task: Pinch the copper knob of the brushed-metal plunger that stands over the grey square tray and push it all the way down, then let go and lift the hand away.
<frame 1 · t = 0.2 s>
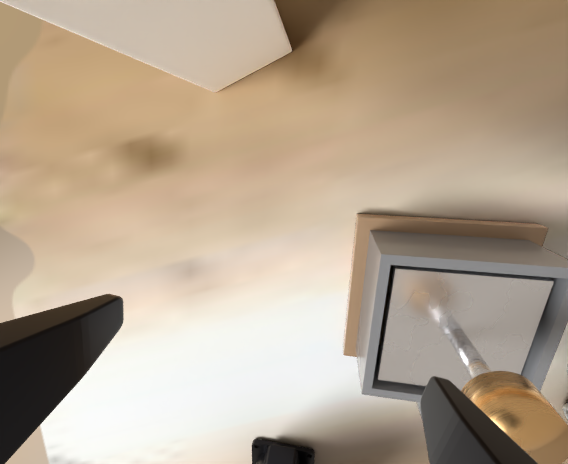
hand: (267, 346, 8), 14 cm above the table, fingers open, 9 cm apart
plunger: (480, 373, 14), point 8 cm above the table, slide at 0.0 cm
grey square tray: (428, 292, 22), on the table
milk: (234, 27, 18), on the table
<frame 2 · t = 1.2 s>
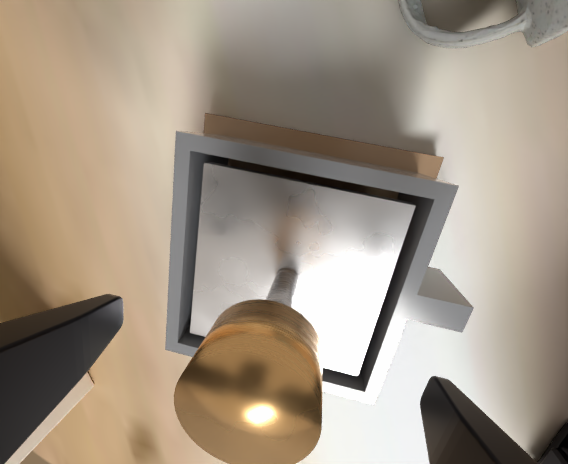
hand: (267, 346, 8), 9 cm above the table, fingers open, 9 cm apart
plunger: (274, 318, 9), point 8 cm above the table, slide at 0.0 cm
grey square tray: (298, 239, 17), on the table
milk: (53, 357, 23), on the table
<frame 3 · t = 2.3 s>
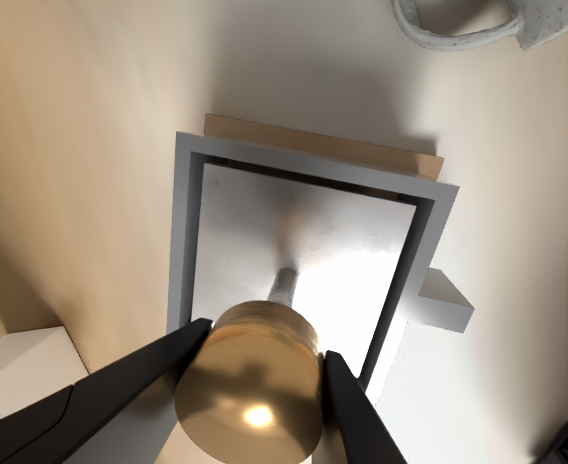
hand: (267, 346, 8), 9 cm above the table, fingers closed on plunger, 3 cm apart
plunger: (275, 319, 9), point 8 cm above the table, slide at 0.0 cm, touching gripper
grey square tray: (299, 239, 17), on the table
milk: (53, 358, 23), on the table
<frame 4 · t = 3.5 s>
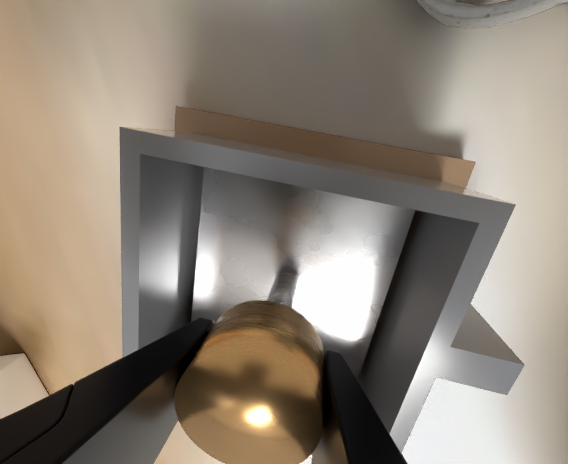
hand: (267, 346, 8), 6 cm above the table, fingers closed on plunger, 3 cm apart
plunger: (275, 319, 9), point 5 cm above the table, slide at 3.0 cm, touching gripper
grey square tray: (293, 259, 14), on the table
milk: (16, 387, 21), on the table
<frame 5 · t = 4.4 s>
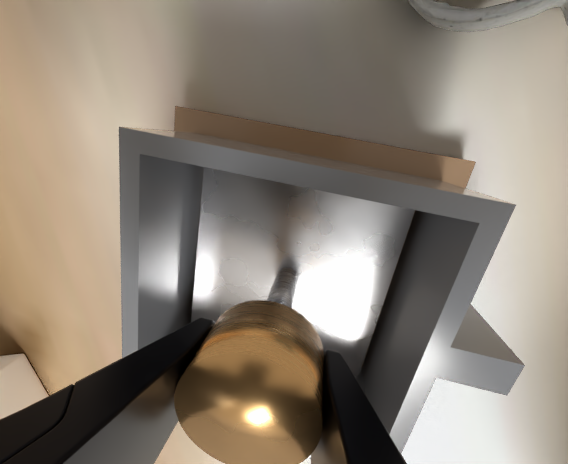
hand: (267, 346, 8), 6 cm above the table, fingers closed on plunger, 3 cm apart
plunger: (275, 319, 9), point 5 cm above the table, slide at 3.0 cm, touching gripper
grey square tray: (293, 259, 14), on the table
milk: (15, 387, 20), on the table
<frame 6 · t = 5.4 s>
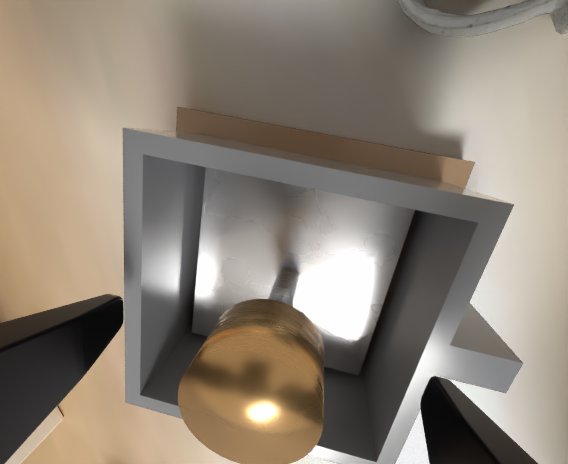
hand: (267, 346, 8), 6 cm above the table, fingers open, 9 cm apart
plunger: (276, 317, 9), point 5 cm above the table, slide at 3.0 cm
grey square tray: (294, 258, 14), on the table
milk: (17, 386, 21), on the table
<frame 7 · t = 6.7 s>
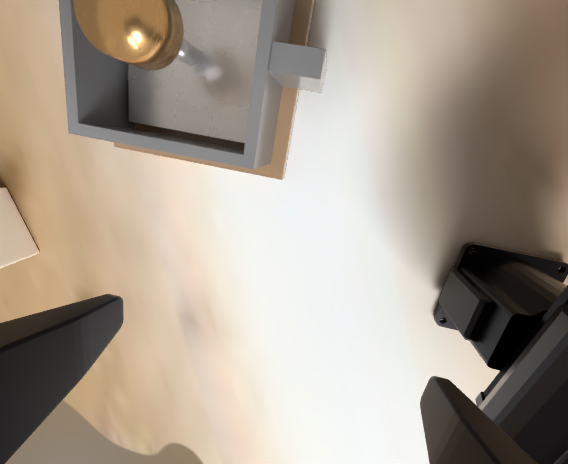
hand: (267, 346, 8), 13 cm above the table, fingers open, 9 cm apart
plunger: (167, 40, 13), point 5 cm above the table, slide at 3.0 cm
grey square tray: (209, 67, 18), on the table
milk: (0, 226, 25), on the table
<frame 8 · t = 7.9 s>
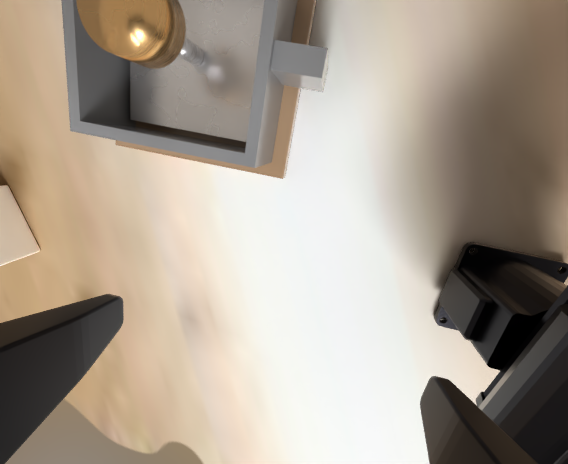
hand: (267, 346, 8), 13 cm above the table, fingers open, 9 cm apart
plunger: (169, 38, 13), point 5 cm above the table, slide at 3.0 cm
grey square tray: (210, 66, 18), on the table
milk: (2, 224, 25), on the table
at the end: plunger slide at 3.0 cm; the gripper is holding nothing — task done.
